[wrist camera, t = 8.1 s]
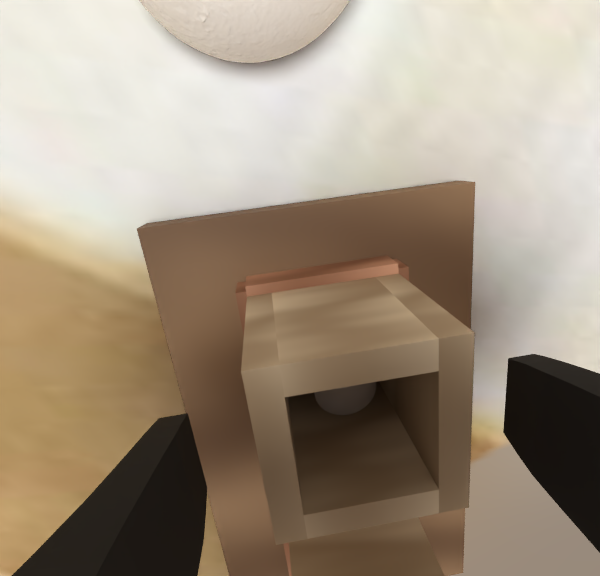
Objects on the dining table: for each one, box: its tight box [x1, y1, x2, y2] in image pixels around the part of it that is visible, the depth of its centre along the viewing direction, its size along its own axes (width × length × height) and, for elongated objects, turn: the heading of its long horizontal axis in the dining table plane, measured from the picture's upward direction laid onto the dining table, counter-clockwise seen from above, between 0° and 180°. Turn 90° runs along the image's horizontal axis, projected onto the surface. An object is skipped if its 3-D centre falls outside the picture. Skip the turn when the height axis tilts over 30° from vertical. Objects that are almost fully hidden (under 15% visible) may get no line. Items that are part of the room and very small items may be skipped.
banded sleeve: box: [235, 255, 475, 545], centre depth 10 cm, size 5×5×5 cm
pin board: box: [137, 181, 475, 576], centre depth 13 cm, size 17×10×4 cm, turn 7°
